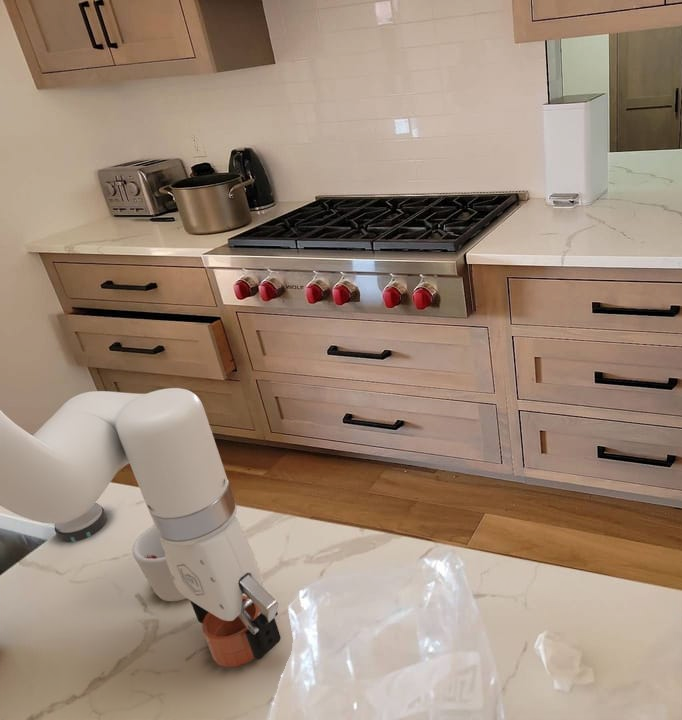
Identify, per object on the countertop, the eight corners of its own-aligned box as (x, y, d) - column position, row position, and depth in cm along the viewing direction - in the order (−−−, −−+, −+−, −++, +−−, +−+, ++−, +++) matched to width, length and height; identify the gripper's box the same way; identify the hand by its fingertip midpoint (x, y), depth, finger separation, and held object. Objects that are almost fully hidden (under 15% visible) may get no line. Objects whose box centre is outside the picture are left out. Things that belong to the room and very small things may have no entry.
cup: (152, 563, 90) (133, 516, 87) (214, 543, 93) (198, 496, 89) (151, 620, 81) (130, 570, 78) (220, 596, 84) (203, 546, 80)
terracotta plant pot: (217, 680, 73) (205, 648, 70) (211, 641, 78) (199, 609, 75) (274, 657, 75) (263, 624, 73) (264, 620, 80) (254, 588, 77)
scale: (58, 552, 94) (50, 536, 93) (61, 526, 99) (54, 511, 98) (108, 536, 96) (101, 520, 95) (109, 511, 102) (103, 496, 100)
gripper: (112, 504, 69) (164, 624, 77) (215, 561, 60) (263, 692, 68) (177, 465, 75) (219, 581, 82) (281, 512, 65) (318, 638, 73)
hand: (239, 631), depth 75 cm, fingers open, 9 cm apart
